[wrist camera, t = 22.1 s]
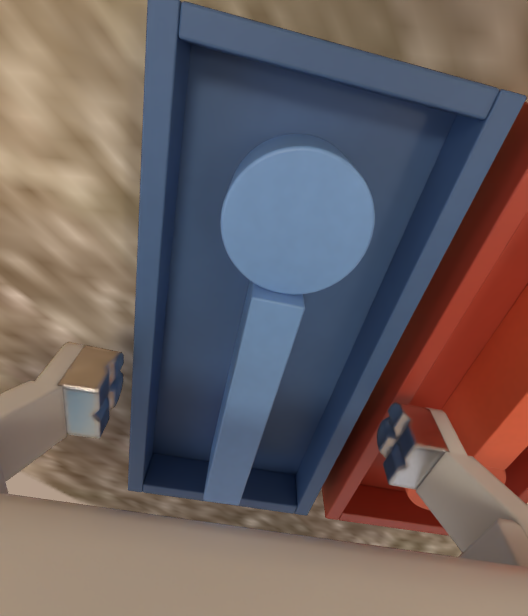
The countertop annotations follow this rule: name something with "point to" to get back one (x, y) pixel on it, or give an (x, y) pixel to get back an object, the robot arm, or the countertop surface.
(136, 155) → the countertop surface
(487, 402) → the red spoon
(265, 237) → the blue spoon
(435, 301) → the red tray
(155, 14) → the blue tray
